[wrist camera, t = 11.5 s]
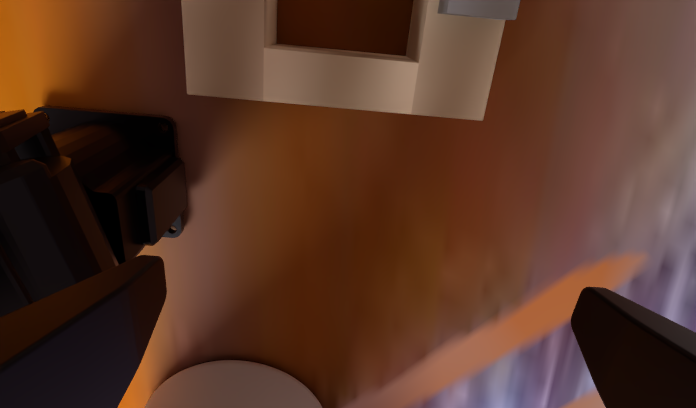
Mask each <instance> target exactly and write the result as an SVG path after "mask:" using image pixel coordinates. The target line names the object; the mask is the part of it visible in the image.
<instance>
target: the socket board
mask: <svg viewBox="0 0 696 408" xmlns="http://www.w3.org/2000/svg"><path fill="white" fill-rule="evenodd" d="M519 4H520V0H414V1H413V8H412V15H411V22H410V29H409V36H408V43H407V51H406V56H400V55H390V54H380V53H369V52H359V51H349V50H339V49H328V48H318V47H308V46H297V45H287V44H277V0H181V6H182V22H183V37H184V53H185V69H186V85H187V94H189V95H200V96H211V97H222V98H233V99H245V100H256V101H267V102H278V103H289V104H301V105H312V106H323V107H334V108H345V109H356V110H368V111H379V112H390V113H401V114H412V115H423V116H435V117H446V118H457V119H468V120H479V121H483V118H484V113H485V109H486V104H487V100H488V96H489V91H490V87H491V82H492V78H493V73H494V69H495V64H496V60H497V56H498V51H499V47H500V42H501V38H502V33H503V29H504V25H505V20H516V17H517V13H518V8H519Z"/></svg>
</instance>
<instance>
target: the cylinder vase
mask: <svg viewBox="0 0 696 408" xmlns="http://www.w3.org/2000/svg"><path fill="white" fill-rule="evenodd" d="M145 408H322V406H321V404H320V403H319V401H318V400H317V398H316V397H315V396H314V394H313V393H312V392H311V391H310V390H309V389H308V388H307V387H306V386H305V385H303V384H302V383H301V382H300V381H298V380H297V379H295V378H294V377H292V376H290V375H289V374H287V373H285V372H283V371H281V370H278V369H276V368H273V367H270V366H267V365H264V364H260V363H255V362H249V361H240V360H221V361H212V362H207V363H202V364H198V365H195V366H192V367H189V368H187V369H184V370H182V371H180V372H178V373H177V374H175V375H173V376H172V377H170V378H169V379H167V380H166V381H165V382H164V383H162V384H161V385H160V386H159V387H158V388H157V389H156V390H155V392H154V393H153V394H152V396H151V397H150V399H149V400H148V402H147V404H146V406H145Z"/></svg>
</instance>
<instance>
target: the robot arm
mask: <svg viewBox="0 0 696 408" xmlns="http://www.w3.org/2000/svg"><path fill="white" fill-rule="evenodd" d="M45 113H46V114H47V115H48V116H49V118H50V121H48V120H47V117H46V115H45ZM161 123H165V124H166V125H167V126H168V131H164V130H163V129H162V128H161ZM186 207H187V195H186V181H185V167H184V162H183V161H182V160H181V158H179V155H178V142H177V128H176V124H175V122H174V120H173V119H171V118H170V117H168V116H162V115H150V114H139V113H127V112H116V111H104V110H92V109H81V108H69V107H58V106H42V107H38V108H36V109H35V110H34V112H33V113H27V114H26V112H25V110H16V111H9V112H5V111H1V112H0V408H117V407H118V405H119V403H120V401H121V400H122V398H123V396H124V394H125V392H126V390H127V388H128V386H129V385H130V383H131V381H132V379H133V377H134V375H135V373H136V371H137V369H138V367H139V365H140V363H141V360H142V358H143V356H144V353H145V350H146V348H147V345H148V343H149V340H150V338H151V335H152V333H153V330H154V328H155V325H156V323H157V320H158V317H159V315H160V312H161V310H162V307H163V305H164V302H165V299H166V293H167V289H166V279H165V270H164V262H163V260H162V258H161V257H159V256H148V255H140V256H138V257H136V256H137V255H138V254H139V253H140V251H141V250H142V249H143V248H144V247H145V246H146V245H149V246H153V245H155V244H156V243H157V242H158V241H159V240H160V239H161V237H169V238H175V237H178V236H179V235H180V234H181V233H182V231H183V230H184V221H183V211H184V209H185V208H186ZM171 225H173V226H175V227H176V229H177V230H172V229H171V228H170V226H171ZM571 326H572V330H573V332H574V335H575V337H576V340H577V342H578V345H579V347H580V349H581V352H582V354H583V357H584V359H585V362H586V364H587V367H588V369H589V372H590V374H591V377H592V379H593V381H594V384H595V386H596V388H597V391H598V393H599V395H600V397H601V399H602V401H603V403H604V405H605V407H606V408H696V333H695V332H693V331H691V330H689V329H687V328H685V327H683V326H681V325H679V324H677V323H675V322H673V321H671V320H669V319H667V318H665V317H663V316H661V315H659V314H657V313H655V312H653V311H651V310H649V309H647V308H645V307H643V306H641V305H639V304H637V303H635V302H633V301H631V300H629V299H627V298H625V297H623V296H621V295H619V294H617V293H615V292H613V291H610V290H608V289H606V288H600V287H586V288H584V289H583V290H582V291H581V294H580V296H579V299H578V301H577V304H576V306H575V309H574V312H573V314H572V317H571Z"/></svg>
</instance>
